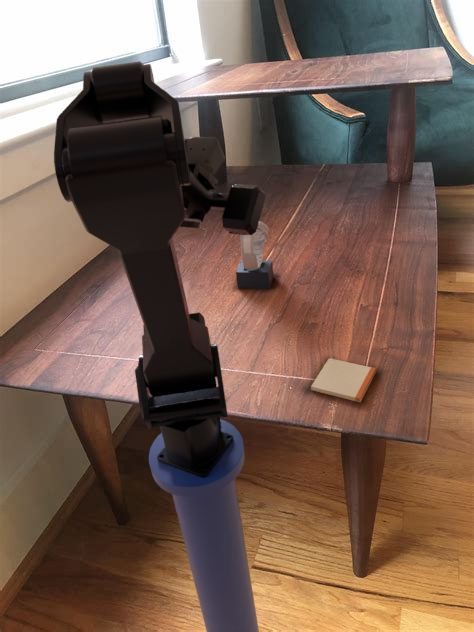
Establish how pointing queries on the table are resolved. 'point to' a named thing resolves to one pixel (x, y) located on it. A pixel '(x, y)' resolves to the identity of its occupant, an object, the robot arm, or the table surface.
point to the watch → (254, 261)
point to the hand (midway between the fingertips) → (224, 227)
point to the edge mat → (344, 379)
